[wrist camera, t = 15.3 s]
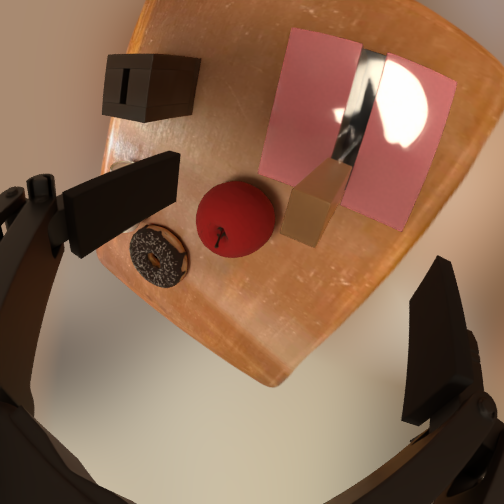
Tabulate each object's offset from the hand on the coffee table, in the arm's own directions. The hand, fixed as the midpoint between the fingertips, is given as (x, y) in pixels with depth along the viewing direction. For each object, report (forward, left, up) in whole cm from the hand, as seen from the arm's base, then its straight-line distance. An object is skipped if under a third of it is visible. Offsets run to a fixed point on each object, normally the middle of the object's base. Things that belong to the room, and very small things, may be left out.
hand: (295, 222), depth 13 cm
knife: (0, 0, -20) cm, 20 cm away
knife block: (-3, -25, -21) cm, 33 cm away
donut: (+25, -24, -21) cm, 41 cm away
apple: (+11, -10, -21) cm, 26 cm away
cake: (-4, 0, -21) cm, 22 cm away
